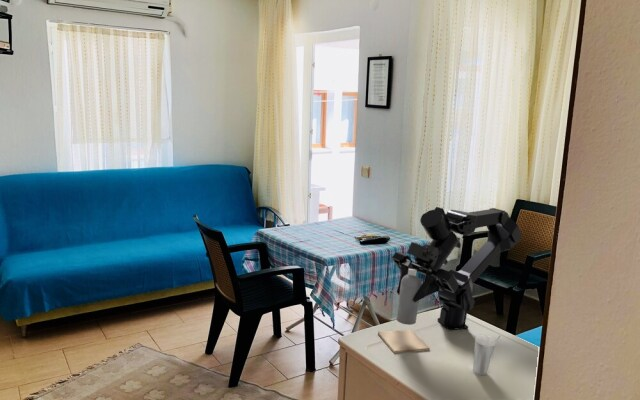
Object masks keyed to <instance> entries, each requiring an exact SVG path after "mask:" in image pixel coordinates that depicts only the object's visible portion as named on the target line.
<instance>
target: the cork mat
mask: <svg viewBox="0 0 640 400" xmlns="http://www.w3.org/2000/svg"><path fill="white" fill-rule="evenodd" d="M377 335H378V336H379V337H380V338H381V340H382V341H383V342H384V343H385V345H387V347H388V348H389V349H390V350H391V351H392V353H393V354H397V353H398V354H400V353H402V354H403V353H411V352H412V353H413V352H423V351H426V352H427V351H430V350H431V348H430V347H429V345H428V344H426V342H424V341H423V339H421V337H419V335H418V334H416V332H414V330H413V329H403V330H402V329H401V330H389V331H388V330H387V331H377Z"/></svg>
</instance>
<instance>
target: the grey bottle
mask: <svg viewBox="0 0 640 400" xmlns="http://www.w3.org/2000/svg"><path fill="white" fill-rule="evenodd" d="M417 273H418V272H417V270H415V269H409V270H408V274H407V275H405V276H404V277H403V278H402V280H401V286H400V294H398V303H397V310H396V311H397V312H396V321H397V322H398V323H400V324H403V325H408V326H410V325H415V324H416V323H417V317H418V310H419V302H420V300H419V301H417V302H414V301H413V298H414V296H415V294H416V293H417V291H418V290H419V288H420V287H421V286H422V282H421V279H420V277H418V276H417Z"/></svg>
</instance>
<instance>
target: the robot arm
mask: <svg viewBox="0 0 640 400" xmlns="http://www.w3.org/2000/svg"><path fill="white" fill-rule="evenodd" d="M420 225H421V226H422V227H423V229H424V231H425V232H426V234H427V236H428V238H429V239H431V242H430V243H429V244H427V243H426V244H424V245H421V244H419V243H416V242H413V241H411V242H410V245H409V247H408V250H407V252H406V253H404V252H401V251H396V252H395V253H394V254H393V256H392V257H391V260H392V261H393V263H394V264H395V266H396V267H397V268H398V269H399V270H400V271H401V273H400V274H401V275H400V278H399V282H398V286H397V290H396V293H397V295H399V294H400V286H401V280H402V278H403V277H404V276H405V275H407V274H408V270H409V269H415V270H417V272H416V273H418V274H421V275H424V281H423V283H421V287H420V288H419V290H418V291H417V293H416V294H415V296H414V298H413V301H414V302H417V301H419V302H420V301H421V300H423V299H424V298H427V296H430V295H432V294H434V293H437V294H438V301H440V302H442V307H441V309H440V313H439V317H438V318H437V321H438V322H439V323H440V324H441V325H442V326H443V327H445V328H446V329H447V330H448V331H451V330H466V329H469V325H468V324H466V322H467V316H468V315H467V314H468V312H471V310H472V309H473V308H474V306H475V303H476V300H475V299H474V297H473V295H472V294H473V286H474V283H475V282H476V281H477V280H478V279H479V277H481V275H482V274H483V272H485V270H486V269H487V268H488V267H489V265H491V264H492V262H494V261H495V260H496V258H497V256H499V254H500V253H502V252H505V251H509V250H512V248H514V247H515V246H517V244H518V243H519V242H520V241H521V238H522V232H521V229H520V227H519V225H518V224H517V223H516V222H515V221H514V220H513V219H512V218H511V217H510V215H509V213H508V212H507V211H505V210H503V209H499V208H495V207H492V208H489V209H484V210H483V209H482V210H476V211H475V210H474V211H469V212H467V211H462V210H456V209H450V210H448V211H447V212H446V213H445V210H444V208H443V207H439V206H436V207H435V208H434V209H431V210H427V212H424V213H423V214H422V215H421V216H420ZM483 227H486V228H487V229H488V232H487V240H486V241H485V243H484V244H483V245H482V246H481V247H480V248H479V249H478V250H477V251H476V252H475V253H474V254H473V255H472V257H471V258H470V259H469V260H468V261H467V262H466V263H465V264H464V266H463V267H461V269H460V270H458V271H457V270H453V269H450V270H446V269H444V268H442V266H443V265H445V266H446V265H448V263H449V261H448V258H449V257H450V255H451V253H452V252H453V251H454V249H455V248H457V249H461V238H460V237H458V236H457V234H459V235H462V236H469V235H470V234H473V233H474V232H475V231H476V229H478V228H483ZM410 255H411V256H413V257H412V258H413V260H414V261H416V262H414V261H413V260H412V258H411V257H410Z"/></svg>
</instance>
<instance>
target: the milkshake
mask: <svg viewBox="0 0 640 400" xmlns="http://www.w3.org/2000/svg"><path fill="white" fill-rule="evenodd" d="M500 337H501V335H499V336H498V337H497V339H496V340H495V339H494V338H493V337H491V336H489V335H488V334H478V335H476V337H475V338H474V350H473V351H474V352H473V362H472V363H473V364H472V371H473V373H474V374H476V375H478V376H487V374H488V372H489V367H490V364H491V359H492V356H493V353H494V350H495V347H496V346H495V345H496V343H497V341H498V340H499V339H500Z"/></svg>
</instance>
